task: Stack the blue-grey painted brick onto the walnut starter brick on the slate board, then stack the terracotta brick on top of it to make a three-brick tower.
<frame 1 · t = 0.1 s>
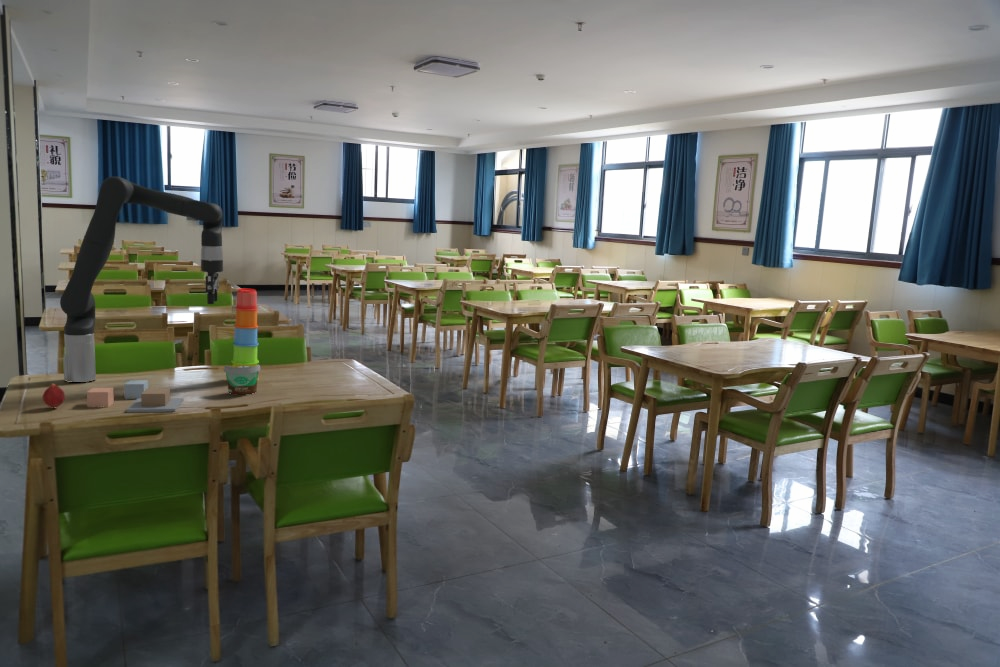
hand: (212, 302, 270), 29 cm above the table, tool pointing down, fingers open, 8 cm apart
brick a: (136, 396, 247), on the table
tower base: (156, 406, 235), on the table
brick b: (100, 405, 234), on the table
food container: (243, 394, 257), on the table
stacking cups: (244, 380, 277), on the table
onion: (54, 409, 228), on the table
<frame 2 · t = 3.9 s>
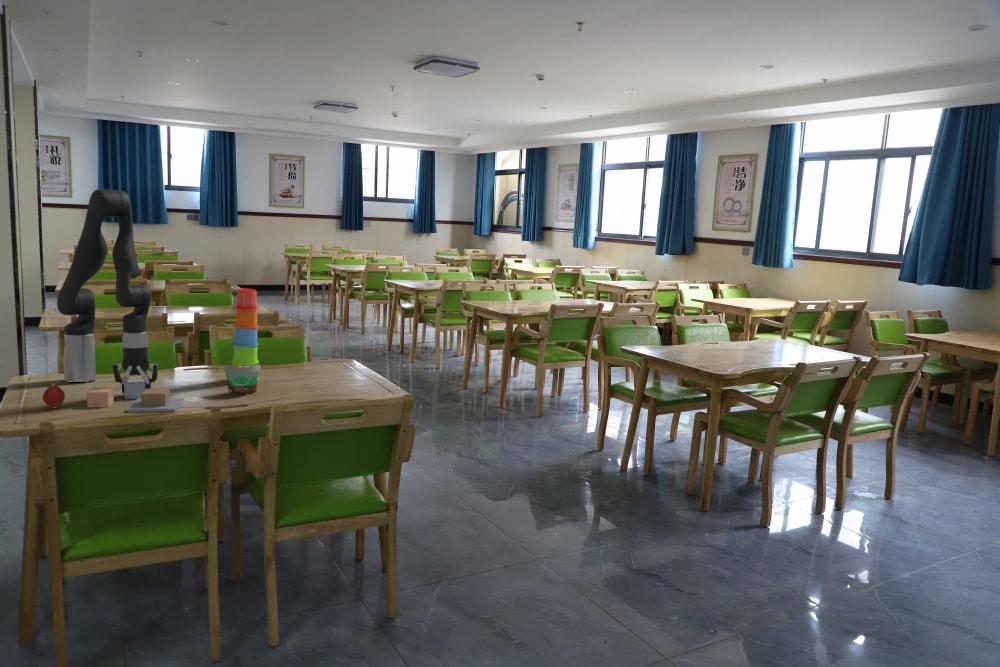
hand: (136, 394, 247), 1 cm above the table, tool pointing down, fingers closed on brick a, 6 cm apart
brick a: (136, 396, 247), on the table, touching gripper
everything else where it was.
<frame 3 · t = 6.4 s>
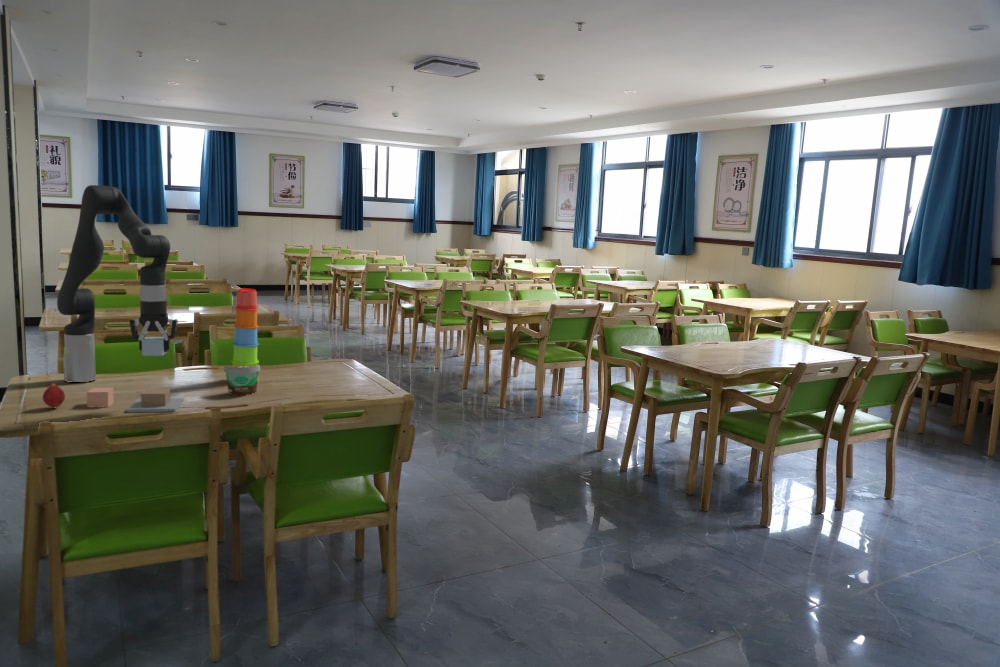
hand: (154, 351, 233), 18 cm above the table, tool pointing down, fingers closed on brick a, 6 cm apart
brick a: (154, 353, 233), point 17 cm above the table, touching gripper
everything else where it was.
when the fingers open (7 cm above the table, at t = 8.9 s): brick a drops 1 cm, resting on tower base.
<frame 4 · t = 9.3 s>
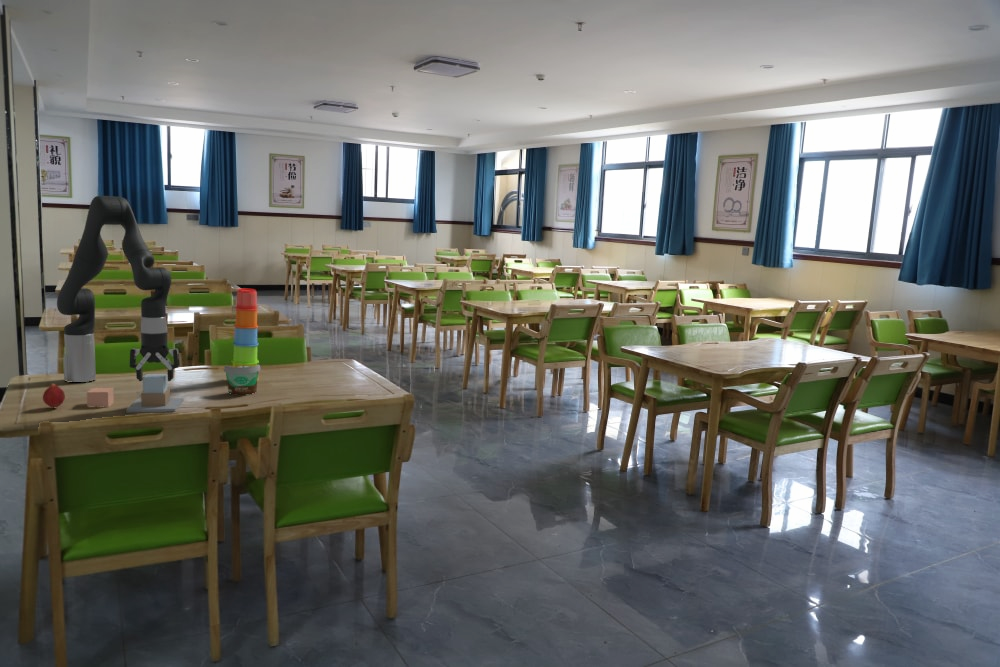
hand: (155, 380, 234), 8 cm above the table, tool pointing down, fingers open, 8 cm apart
brick a: (155, 391, 235), point 5 cm above the table, touching tower base
everything else where it was.
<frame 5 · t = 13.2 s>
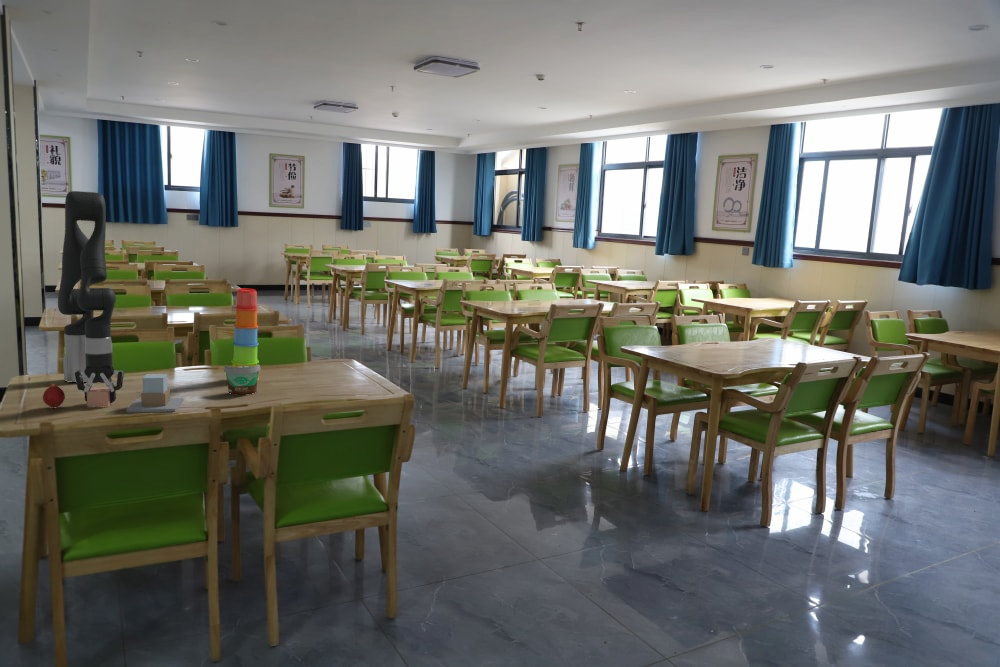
hand: (100, 402, 234), 1 cm above the table, tool pointing down, fingers closed on brick b, 6 cm apart
brick b: (100, 404, 234), on the table, touching gripper
everything else where it was.
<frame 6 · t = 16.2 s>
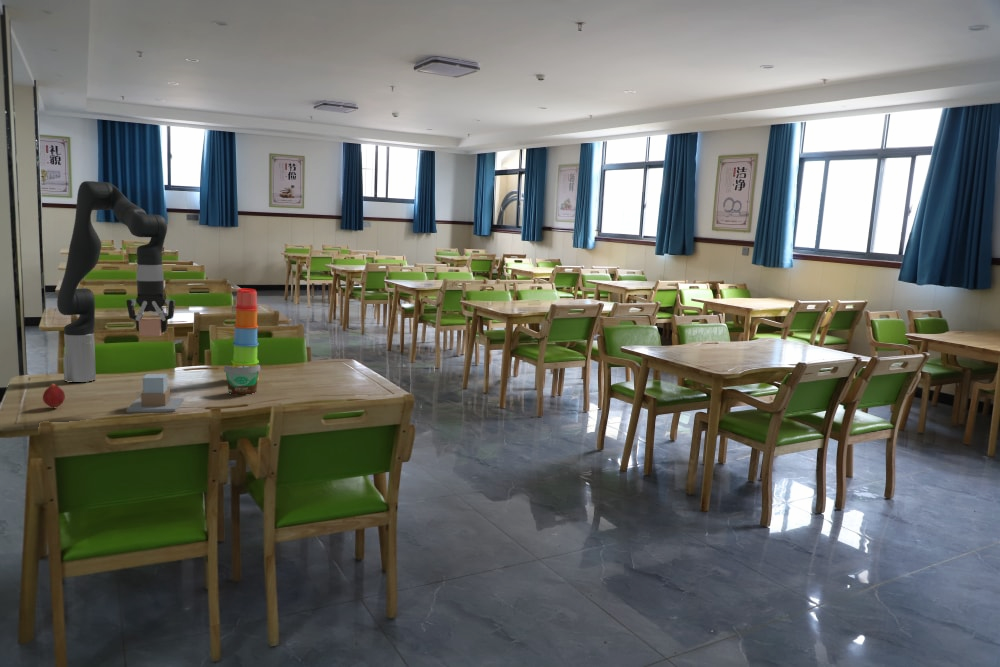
hand: (152, 332, 231), 24 cm above the table, tool pointing down, fingers closed on brick b, 6 cm apart
brick b: (152, 334, 231), point 23 cm above the table, touching gripper
everything else where it was.
when the fingers open (12 cm above the table, at t = 19.0 s): brick b drops 1 cm, resting on brick a.
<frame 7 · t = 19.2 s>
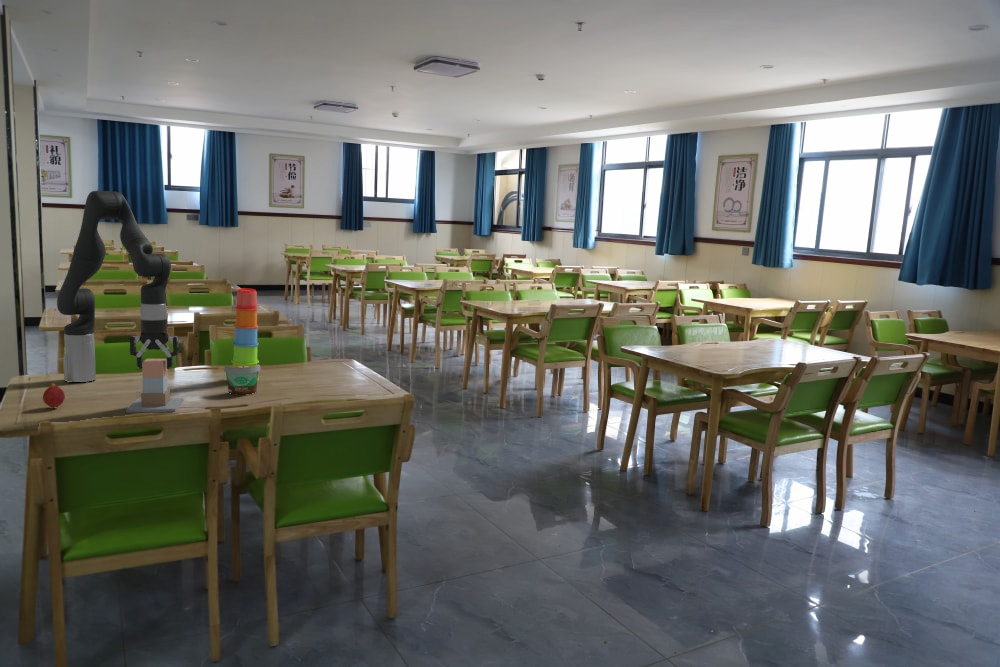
hand: (155, 368, 234), 12 cm above the table, tool pointing down, fingers open, 7 cm apart
brick a: (155, 391, 235), point 5 cm above the table, touching brick b, tower base
brick b: (155, 375, 234), point 10 cm above the table, touching brick a
everything else where it was.
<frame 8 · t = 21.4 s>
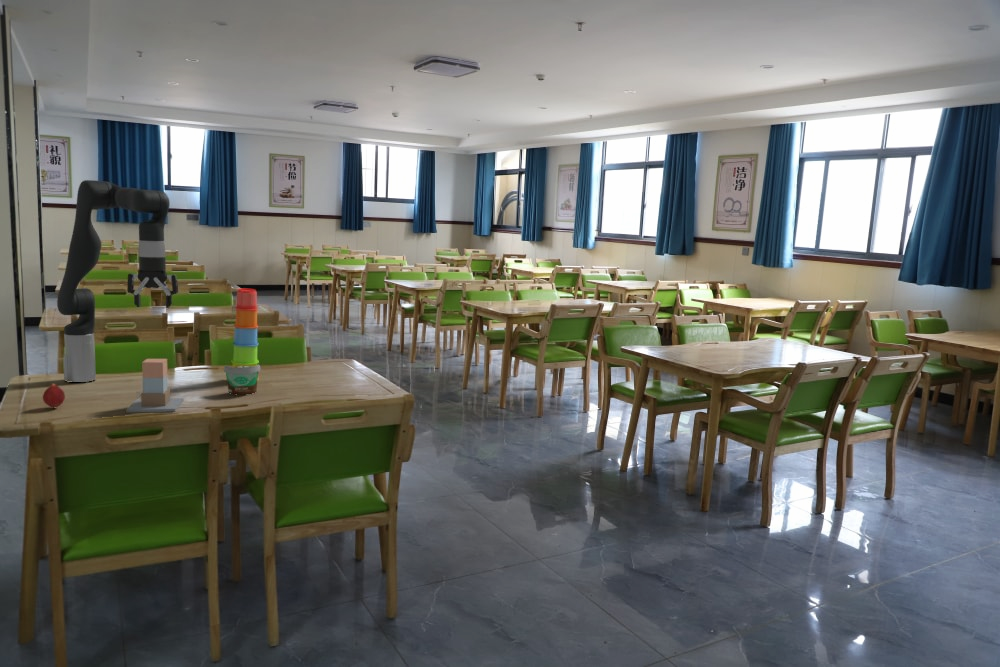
hand: (153, 307, 231), 32 cm above the table, tool pointing down, fingers open, 8 cm apart
nothing on the table moved.
at the end: brick a 0.1 cm off-centre on the tower base, point 5.0 cm above the tower base's base; brick b 0.0 cm off-centre on the tower base, point 10.0 cm above the tower base's base; brick b tilted 0° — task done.
